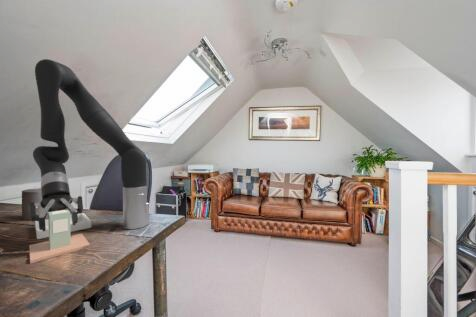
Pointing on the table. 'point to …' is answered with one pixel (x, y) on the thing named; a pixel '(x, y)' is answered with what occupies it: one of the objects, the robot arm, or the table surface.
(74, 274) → the table surface
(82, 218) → the grey bin
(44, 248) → the terracotta tile
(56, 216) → the sage box
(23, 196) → the pillar candle
